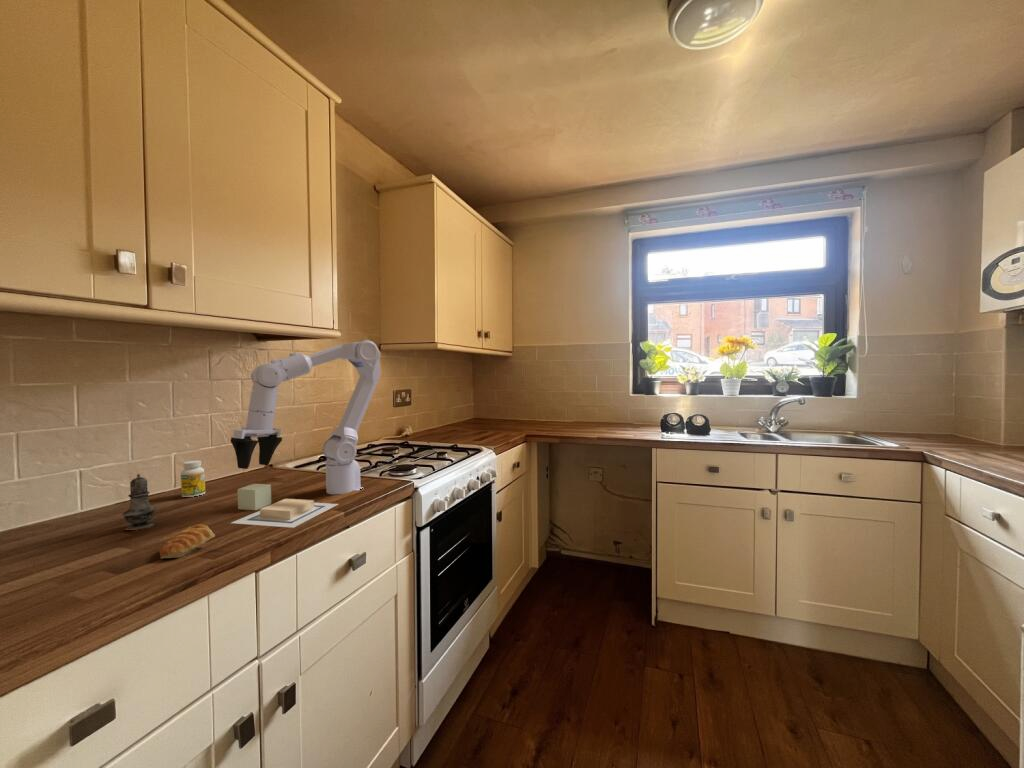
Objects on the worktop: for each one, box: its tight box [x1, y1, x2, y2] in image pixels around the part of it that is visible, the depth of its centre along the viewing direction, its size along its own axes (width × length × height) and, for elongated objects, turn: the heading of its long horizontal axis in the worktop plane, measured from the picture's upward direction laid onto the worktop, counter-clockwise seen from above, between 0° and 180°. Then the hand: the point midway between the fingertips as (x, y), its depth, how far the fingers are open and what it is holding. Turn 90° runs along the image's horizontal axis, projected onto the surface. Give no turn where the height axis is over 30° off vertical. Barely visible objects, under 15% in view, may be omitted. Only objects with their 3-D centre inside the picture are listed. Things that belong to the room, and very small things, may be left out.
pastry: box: [159, 523, 216, 560], centre depth 80 cm, size 9×7×4 cm
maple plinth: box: [259, 498, 315, 520], centre depth 98 cm, size 8×8×2 cm
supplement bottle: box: [180, 460, 206, 498], centre depth 117 cm, size 5×5×10 cm
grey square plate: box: [230, 502, 339, 529], centre depth 98 cm, size 16×16×1 cm
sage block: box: [236, 483, 272, 511], centre depth 103 cm, size 5×5×6 cm
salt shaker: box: [121, 473, 158, 530], centre depth 93 cm, size 6×6×12 cm
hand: (253, 466), depth 102 cm, fingers open, 7 cm apart
